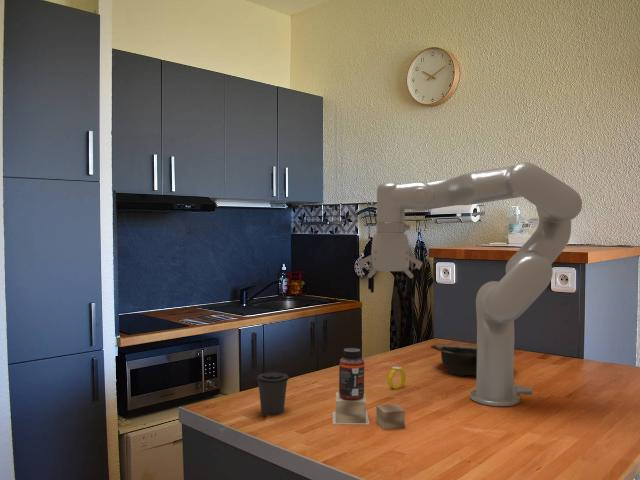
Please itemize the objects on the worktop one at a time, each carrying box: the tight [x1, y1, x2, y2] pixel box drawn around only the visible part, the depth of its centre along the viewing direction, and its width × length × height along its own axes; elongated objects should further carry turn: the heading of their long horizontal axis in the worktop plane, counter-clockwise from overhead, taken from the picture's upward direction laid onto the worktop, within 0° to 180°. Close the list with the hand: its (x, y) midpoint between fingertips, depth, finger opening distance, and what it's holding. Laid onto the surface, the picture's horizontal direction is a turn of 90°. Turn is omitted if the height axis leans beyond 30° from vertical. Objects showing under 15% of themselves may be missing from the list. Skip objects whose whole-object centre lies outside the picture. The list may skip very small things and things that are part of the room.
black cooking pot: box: [430, 344, 477, 377], centre depth 183 cm, size 25×25×9 cm
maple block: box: [335, 391, 367, 423], centre depth 135 cm, size 7×7×5 cm
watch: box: [387, 366, 406, 390], centre depth 163 cm, size 6×3×6 cm, turn 130°
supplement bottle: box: [338, 347, 365, 400], centre depth 135 cm, size 6×6×11 cm
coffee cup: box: [256, 371, 290, 418], centre depth 140 cm, size 8×8×10 cm
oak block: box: [375, 403, 406, 431], centre depth 130 cm, size 5×5×4 cm
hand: (389, 292), depth 154 cm, fingers open, 9 cm apart
